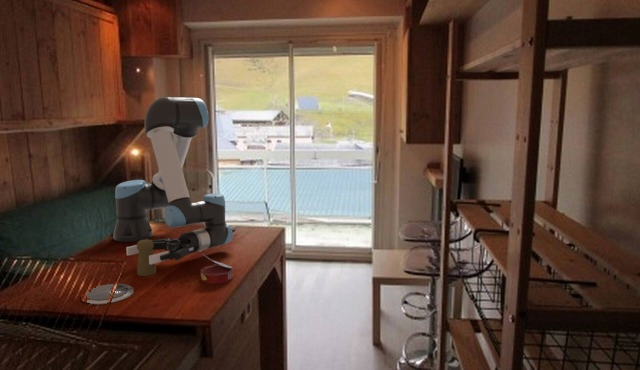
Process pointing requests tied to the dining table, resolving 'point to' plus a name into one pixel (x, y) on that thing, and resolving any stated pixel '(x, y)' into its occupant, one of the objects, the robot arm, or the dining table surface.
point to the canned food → (216, 273)
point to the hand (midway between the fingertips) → (137, 255)
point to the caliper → (234, 227)
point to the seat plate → (104, 291)
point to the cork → (145, 258)
